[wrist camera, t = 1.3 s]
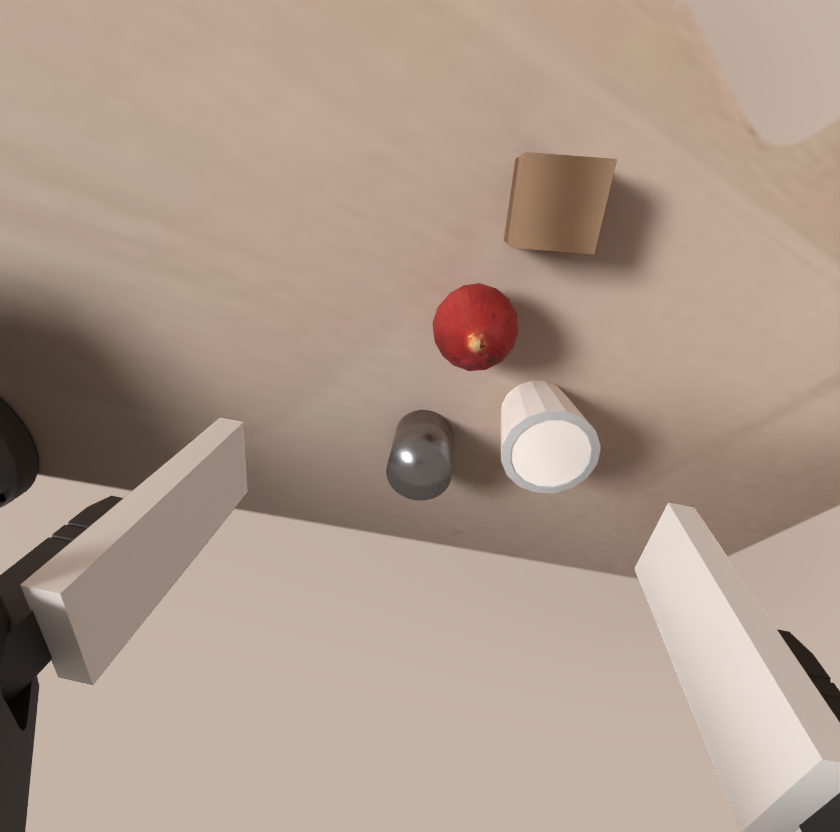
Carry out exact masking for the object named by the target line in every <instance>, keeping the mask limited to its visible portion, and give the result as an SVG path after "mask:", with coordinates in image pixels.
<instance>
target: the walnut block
mask: <svg viewBox="0 0 840 832" xmlns="http://www.w3.org/2000/svg"><path fill="white" fill-rule="evenodd" d="M616 162H617V159H609V158H596V157H582V156H568V155H555V154H541V153H527V152H526V153H525V154H523V155H521V156H520V157H518V158H516V160H515V167H514V174H513V181H512V188H511V195H510V202H509V208H508V215H507V222H506V229H505V236H504V241H505V242H506V243H507V244H508V245H509V246H510V247H511V248H520V249H532V250H545V251H557V252H570V253H582V254H595V250H596V246H597V241H598V237H599V233H600V229H601V225H602V220H603V216H604V212H605V208H606V204H607V200H608V195H609V191H610V187H611V183H612V179H613V174H614V170H615V166H616Z"/></svg>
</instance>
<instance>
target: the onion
mask: <svg viewBox="0 0 840 832" xmlns="http://www.w3.org/2000/svg"><path fill="white" fill-rule="evenodd" d="M433 331H434V339H435V343H436V345H437V347H438V349H439V350H440V352H441V354H442V356H443V357H445V358H446V359H447V360H448V361H449V362H450V363H451V364H452V365H454V366H457V367H460V368H462V369H465V370H468V371H475V370H486V369H488V368H490V367H492V366H494V365H496V364H498V363H500V362H502V361H503V359H504V358H505V357H506V356H507V355H508V353H509V352H510V351H511V350H512V349H513V347H514V343H515V340H516V336H517V333H518V326H517V315H516V312H515V310H514V309H513V307H512V305H511V303H510V301H509V299H508V298H507V297H506V296H504V295H503V294H502V293H501V292H500V291H499V290H497V289H496V288H493V287H489V286H486V285H483V284H480V283H479V284H471V285H464V286H462V287H460V288H459V289H457V290H455V291H453V292H451V293H450V294H449V295H448V296H447V297H446V298H445V300H444V301H443V302H442V303H441V304H440V305H439V307H438V308H437V311H436V314H435V317H434V321H433Z"/></svg>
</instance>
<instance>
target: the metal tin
mask: <svg viewBox="0 0 840 832" xmlns="http://www.w3.org/2000/svg"><path fill="white" fill-rule="evenodd" d="M386 474H387V479H388V481H389V483H390V485H391V486H392V488H393V489H394V490H395V491H396V492H397V493H399V494H400V495H402V496H404V497H406V498H409V499H413V500H428V499H432V498H435V497H437V496H439V495H440V494H442V493H443V492H444V491H445V490H446V489H447V487H448V486H449V484H450V481H451V476H452V430H451V427H450V425H449V423H448V422H447V421H446V419H444V418H443V417H442V416H441V415H439V414H437V413H435V412H432V411H427V410H418V411H414V412H411V413H409V414H407V415H406V416H405V417H403V418H402V420H401V421H400V422H399V424H398V426H397V429H396V433H395V437H394V441H393V445H392V449H391V453H390V457H389V460H388V464H387V470H386Z"/></svg>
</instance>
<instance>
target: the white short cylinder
mask: <svg viewBox="0 0 840 832" xmlns="http://www.w3.org/2000/svg"><path fill="white" fill-rule="evenodd" d="M600 449H601V446H600V442H599V439H598V435H597V432H596V430H595V429H594V428H593V427H592V426H591V425H590V423H589V422H588V421H587V420H586V419H585V417H584V416H583V415H582V414H581V413H580V411H579V410H578V409H577V408H576V407H575V406H574V404H573V403H572V402H571V401H570V400H569V398H568V397H567V396H566V395H565V394H564V393H563V392H562V391H561V390H560V389H559V388H558V386H556V385H554V384H551V383H549V382H546V381H529V382H526V383H523V384H520V385H518V386H517V387H515V388H514V389H513V390H512V391H510V392H509V393H508V394H507V396H506V398H505V400H504V402H503V403H502V409H501V462H502V465H503V467H504V469H505V472H506V474H507V476H508V477H509V478H510V479H511V480H512V481H514V482H515V483H516V484H517V485H518V486H519V487H521V488H524V489H527V490H529V491H532V492H535V493H557V492H560V491H564V490H568V489H571V488H573V487H575V486H576V485H578V484H579V483H581V482H582V481H583V480H585V479H586V478H588V476H589V475H590V474H591V472H592V471H593V469H594V468H595V467H596V465H597V464H598V459H599V454H600Z"/></svg>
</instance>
